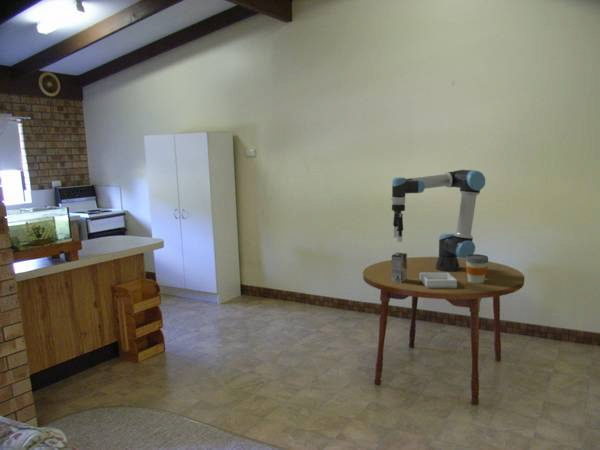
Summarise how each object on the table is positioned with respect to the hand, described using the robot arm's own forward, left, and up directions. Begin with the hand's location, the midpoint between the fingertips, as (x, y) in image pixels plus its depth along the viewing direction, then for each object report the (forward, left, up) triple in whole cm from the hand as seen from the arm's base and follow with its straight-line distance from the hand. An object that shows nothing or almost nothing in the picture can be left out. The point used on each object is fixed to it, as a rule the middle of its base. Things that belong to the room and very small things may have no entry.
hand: (397, 239), depth 284 cm
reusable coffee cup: (-46, +4, -25) cm, 52 cm away
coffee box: (-1, +1, -25) cm, 25 cm away
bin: (-22, +9, -25) cm, 34 cm away
